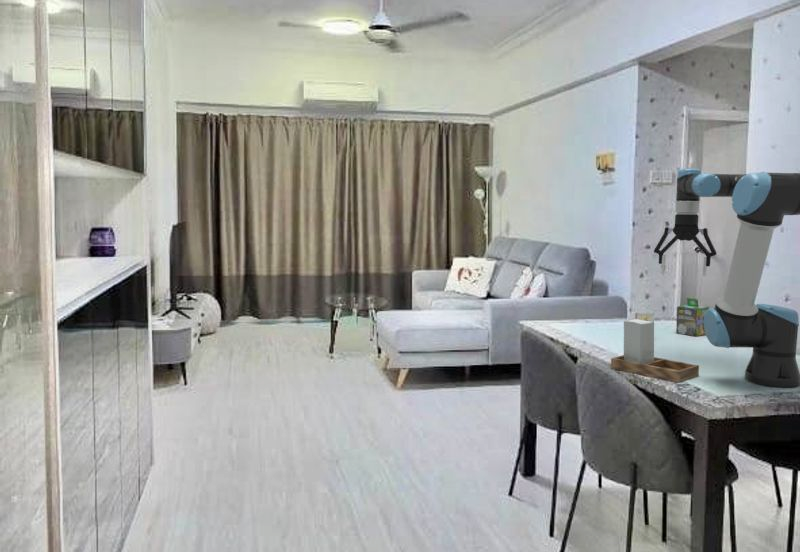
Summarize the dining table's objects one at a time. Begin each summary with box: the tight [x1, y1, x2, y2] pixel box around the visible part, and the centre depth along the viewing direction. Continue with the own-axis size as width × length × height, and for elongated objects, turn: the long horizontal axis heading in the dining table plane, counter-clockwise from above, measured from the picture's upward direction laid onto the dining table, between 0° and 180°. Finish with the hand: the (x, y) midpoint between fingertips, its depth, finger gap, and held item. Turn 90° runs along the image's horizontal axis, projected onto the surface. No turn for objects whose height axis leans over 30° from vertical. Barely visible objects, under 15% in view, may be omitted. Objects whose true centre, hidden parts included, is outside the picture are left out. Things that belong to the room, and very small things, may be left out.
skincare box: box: [623, 318, 655, 364], centre depth 229 cm, size 8×6×15 cm
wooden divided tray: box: [610, 354, 700, 383], centre depth 226 cm, size 23×13×3 cm, turn 41°
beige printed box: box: [634, 312, 655, 323], centre depth 280 cm, size 4×7×10 cm, turn 81°
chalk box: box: [675, 297, 710, 337], centre depth 289 cm, size 9×9×15 cm
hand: (683, 274), depth 247 cm, fingers open, 13 cm apart
